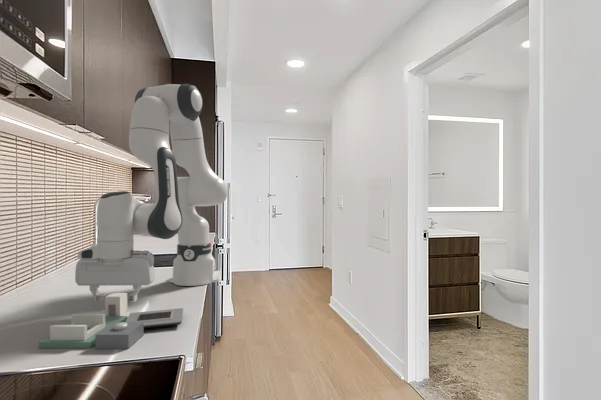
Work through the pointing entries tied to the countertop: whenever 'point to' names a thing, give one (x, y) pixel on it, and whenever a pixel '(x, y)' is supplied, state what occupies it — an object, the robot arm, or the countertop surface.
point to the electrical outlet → (157, 318)
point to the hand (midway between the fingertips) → (115, 301)
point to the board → (79, 331)
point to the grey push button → (119, 335)
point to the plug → (115, 304)
